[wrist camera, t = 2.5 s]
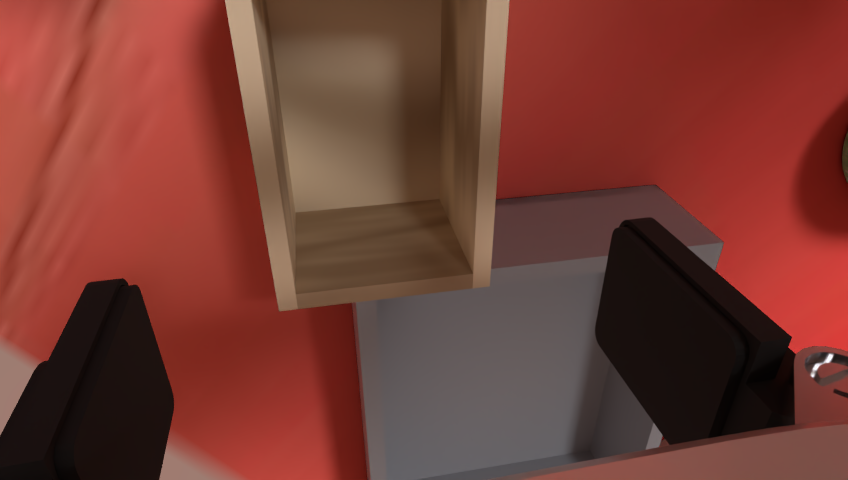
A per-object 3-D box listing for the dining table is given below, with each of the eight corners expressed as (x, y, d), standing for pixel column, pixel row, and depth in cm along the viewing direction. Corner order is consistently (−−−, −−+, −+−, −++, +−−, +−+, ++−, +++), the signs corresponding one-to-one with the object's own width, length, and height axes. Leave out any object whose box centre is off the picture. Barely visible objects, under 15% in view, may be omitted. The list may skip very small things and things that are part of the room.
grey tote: (343, 213, 24) (354, 284, 20) (655, 184, 26) (724, 242, 22) (368, 486, 33) (378, 572, 29) (594, 447, 36) (634, 522, 32)
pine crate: (239, -56, 18) (219, -31, 13) (455, -60, 19) (512, -39, 14) (282, 219, 24) (279, 311, 19) (450, 203, 25) (489, 286, 20)
